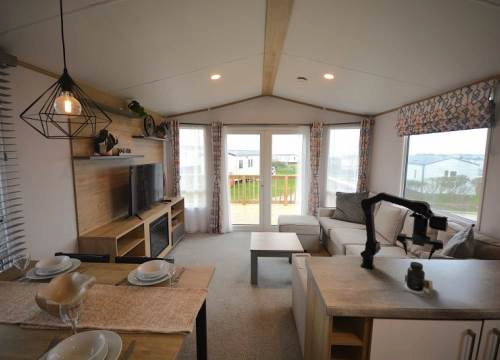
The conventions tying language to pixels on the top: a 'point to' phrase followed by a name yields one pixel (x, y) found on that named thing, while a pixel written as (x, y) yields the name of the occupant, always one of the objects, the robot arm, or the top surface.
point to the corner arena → (426, 292)
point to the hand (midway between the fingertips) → (417, 257)
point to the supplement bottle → (415, 277)
